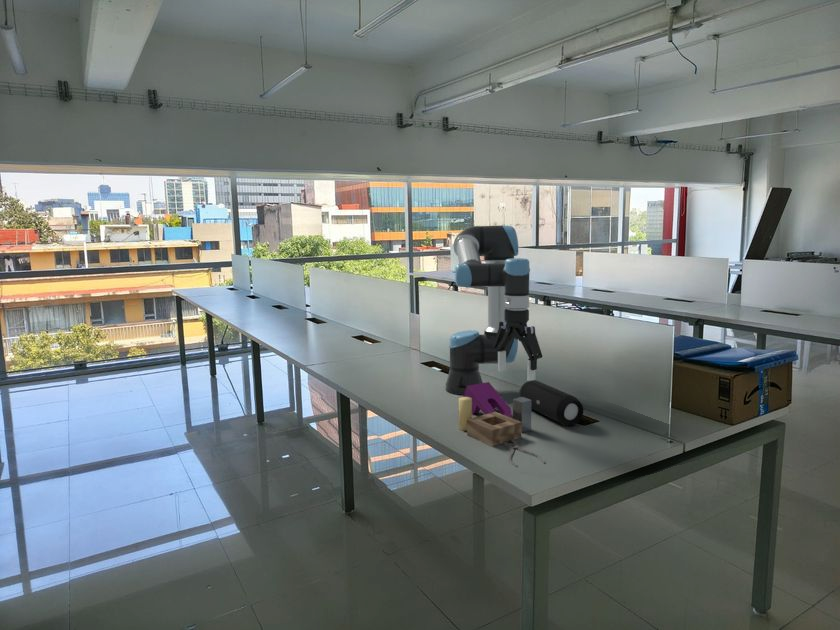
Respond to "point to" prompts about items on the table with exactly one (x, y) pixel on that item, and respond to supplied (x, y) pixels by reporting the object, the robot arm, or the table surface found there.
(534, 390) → the portable speaker
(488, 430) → the socket block
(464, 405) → the round peg
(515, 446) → the pliers
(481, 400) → the mounting bracket
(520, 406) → the square peg
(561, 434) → the table surface
